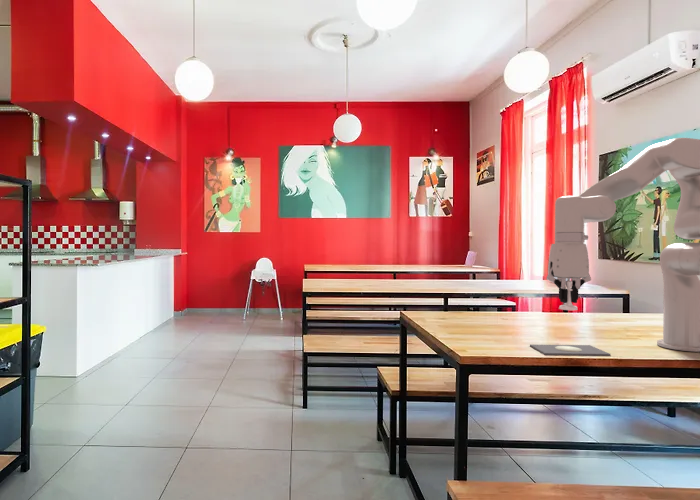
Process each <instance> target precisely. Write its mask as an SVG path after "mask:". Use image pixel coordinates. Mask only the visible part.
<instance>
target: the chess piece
mask: <svg viewBox="0 0 700 500" xmlns="http://www.w3.org/2000/svg"><path fill="white" fill-rule="evenodd" d="M570 279H571V280H570ZM571 287H572V278H567V280H566V289H567V303H563V304H561V305H559V307H558V310H562V311H563V310H564V311H578V306H577V305H573V302H571V293H570V291H573V290H572V289H571Z"/></svg>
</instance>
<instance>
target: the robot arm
mask: <svg viewBox="0 0 700 500" xmlns="http://www.w3.org/2000/svg"><path fill="white" fill-rule="evenodd" d="M667 171H669V173H670V175H671V176H672V177H673V179H674V180H675V181H676V183H678V186H679V188H680V199H679V200H680V201H679V204H678V208H677V211H676V214H675V219H674V224H673V231H674V234H675V235H676V236H677V237H679V238H680V239H684V240H700V139H698V138H690V137H675V138H672V139H669V140H665V141H662V142H661V141H660V142H657V143H654V144H652V145H649V146H648V147H646V148H644V150H642V151H641V152H640V153H638V154H637V155H636V156H635V157H633V158H632V159H631V160H630V161H628V162H627V163H626V164H624V165H623V166H622V167H621V168H620V169H619V170H617V171H615V172H613V173H612V174H610V175H607V176H606V177H604V178H603V179H601V180H600V181H598V182H596V183H595V184H593V185H591V186H590V187H588V188H587V189H585V190H584V191H583V192H581V193H580V194H579V195H565V196H560V197H557V198H556V200H555V204H554V208H555V209H554V243H551V245H550V250H549V255H548V265H547V266H548V267H547V276H546V280H547V281H549V282H552V283H553V284H554V285H555V286H556V287H557V288H558V299H559V302H560V303H563V304H564V303H567V287H566V281H567V279H568V278H572V279H571V281H572V285H571V289H572V290H573V291H570V293H571V302H572V304H577V303H578V300H579V290H580V289H581V287H582V286H583V285H584V284H586V283H588V282H590V281H592V277H591V275H590V260H589V252H588V248H587V244H586V243H584V242H585V241H588V240H589V235H587V234H585V224H586V223H599V222H605V221H607V220H609V219H611V218H612V217H614V215H615V213H616V211H617V206H616V205H617V204H616V203H615V202H616V201H618V200H621V199H625V198H628V197H630V196H632V195H635V194H637V193H639V192H641V191H642V190H643V189H645V188H646V187H647V186H648V185H650V184H651V183H652V182H653V181H655V180H656V179H657V178H658V177H659V176H661V175H662V174H663V173H665V172H667ZM659 264H660V268H661V273H662V281H663V311H662V312H663V315H662V317H663V323H662V324H663V327H662V328H663V331H662V332H663V333H662V335H663V337H662V339H658V340H657V341H656V344H657V346H659V347H661V348H666V349H670V350H676V351H683V352H692V353H693V352H696V353H699V352H700V278H699V276H700V242H675V243H671V244H669V245H667V246H665V247H664V248H663V249H662V251H660V255H659Z"/></svg>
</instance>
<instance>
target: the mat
mask: <svg viewBox="0 0 700 500" xmlns="http://www.w3.org/2000/svg"><path fill="white" fill-rule="evenodd" d="M529 347H530V348H532V349H534V350H535V351H537V352H539V353H541V354H542V355H544V356H591V357H592V356H593V357H594V356H595V357H596V356H597V357H600V356H601V357H607V356H608V357H609V356H610V357H611V353H609V352H607V351H604V350H602V349H600V348H598V347H595V346H593V345H591V344H530V343H529Z"/></svg>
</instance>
